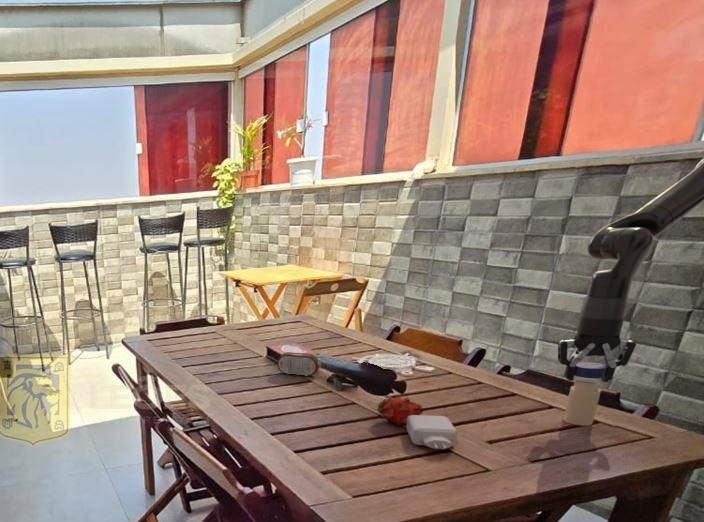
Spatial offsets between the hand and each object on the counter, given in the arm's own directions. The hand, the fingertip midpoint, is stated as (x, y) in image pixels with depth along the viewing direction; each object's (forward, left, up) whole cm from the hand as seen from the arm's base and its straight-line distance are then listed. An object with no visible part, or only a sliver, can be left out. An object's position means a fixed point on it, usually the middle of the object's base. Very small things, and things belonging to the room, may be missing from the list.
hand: (586, 380), depth 124 cm
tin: (+31, -71, -11) cm, 78 cm away
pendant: (-3, -61, -11) cm, 62 cm away
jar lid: (0, 0, +4) cm, 4 cm away
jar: (0, 0, -11) cm, 11 cm away
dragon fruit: (+36, -21, -11) cm, 43 cm away
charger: (+40, -7, -11) cm, 42 cm away
